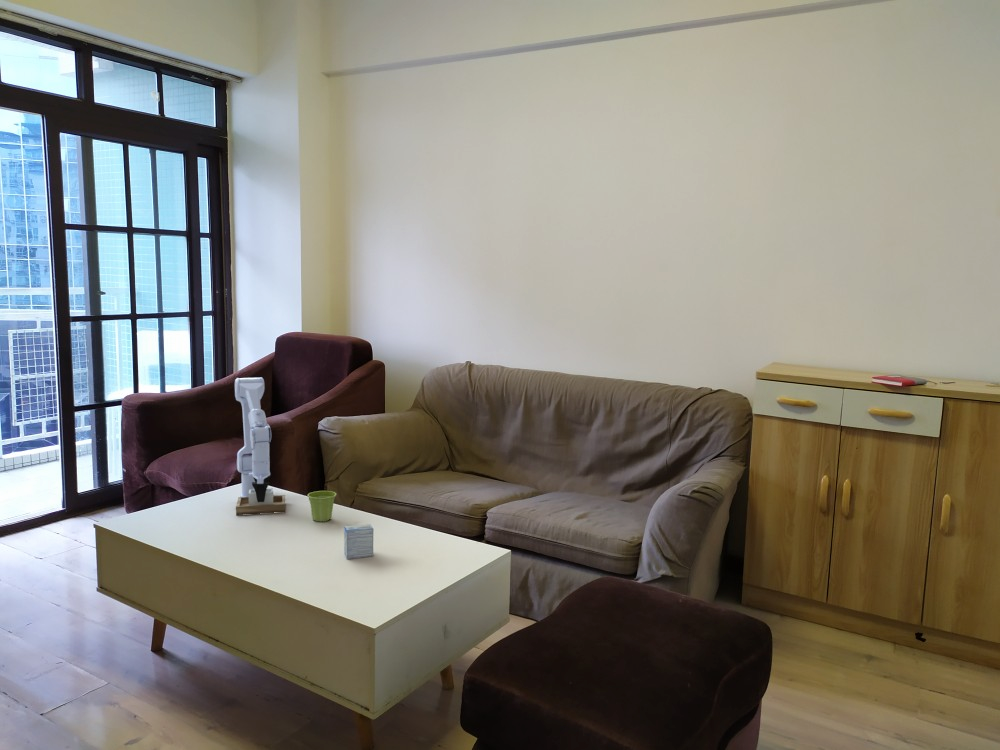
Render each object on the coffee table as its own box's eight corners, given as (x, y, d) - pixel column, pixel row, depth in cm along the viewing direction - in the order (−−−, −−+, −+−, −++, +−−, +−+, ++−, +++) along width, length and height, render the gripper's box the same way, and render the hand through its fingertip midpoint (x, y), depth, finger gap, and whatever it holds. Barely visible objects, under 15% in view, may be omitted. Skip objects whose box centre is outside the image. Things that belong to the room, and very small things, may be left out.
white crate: (249, 504, 259) (249, 489, 259) (273, 503, 261) (273, 488, 261) (248, 508, 254) (248, 493, 254) (273, 507, 257) (272, 492, 256)
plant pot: (306, 516, 251) (306, 491, 250) (335, 514, 254) (335, 489, 253) (308, 524, 242) (308, 498, 241) (337, 522, 245) (337, 497, 244)
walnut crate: (238, 505, 262) (238, 497, 261) (285, 502, 266) (285, 494, 266) (236, 515, 250) (235, 506, 250) (285, 512, 254) (285, 504, 254)
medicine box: (370, 551, 219) (370, 523, 218) (373, 556, 215) (373, 527, 214) (343, 554, 216) (343, 525, 215) (346, 559, 212) (346, 530, 211)
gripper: (249, 456, 262) (250, 493, 263) (247, 466, 248) (248, 505, 250) (270, 455, 264) (271, 492, 265) (269, 465, 250) (269, 504, 251)
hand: (261, 498), depth 258 cm, fingers open, 7 cm apart
